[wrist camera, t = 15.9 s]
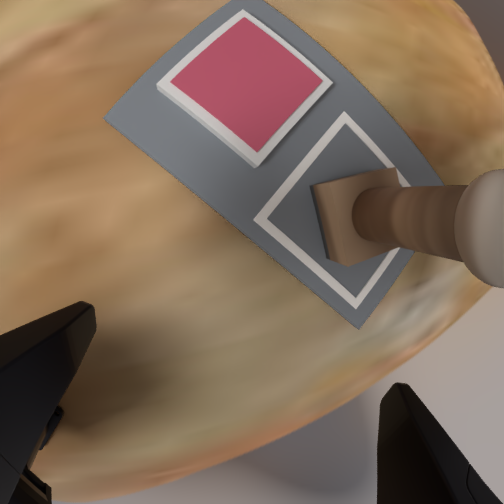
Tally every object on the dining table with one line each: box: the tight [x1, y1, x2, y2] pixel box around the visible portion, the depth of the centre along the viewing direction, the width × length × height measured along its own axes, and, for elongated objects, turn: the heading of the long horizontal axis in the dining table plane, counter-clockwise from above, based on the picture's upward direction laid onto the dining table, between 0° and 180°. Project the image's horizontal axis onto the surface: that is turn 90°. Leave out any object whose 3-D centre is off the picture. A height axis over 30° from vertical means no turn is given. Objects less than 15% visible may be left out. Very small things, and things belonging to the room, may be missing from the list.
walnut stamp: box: [309, 167, 504, 288], centre depth 14 cm, size 5×5×15 cm
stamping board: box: [103, 0, 445, 330], centre depth 20 cm, size 14×23×2 cm, turn 50°
